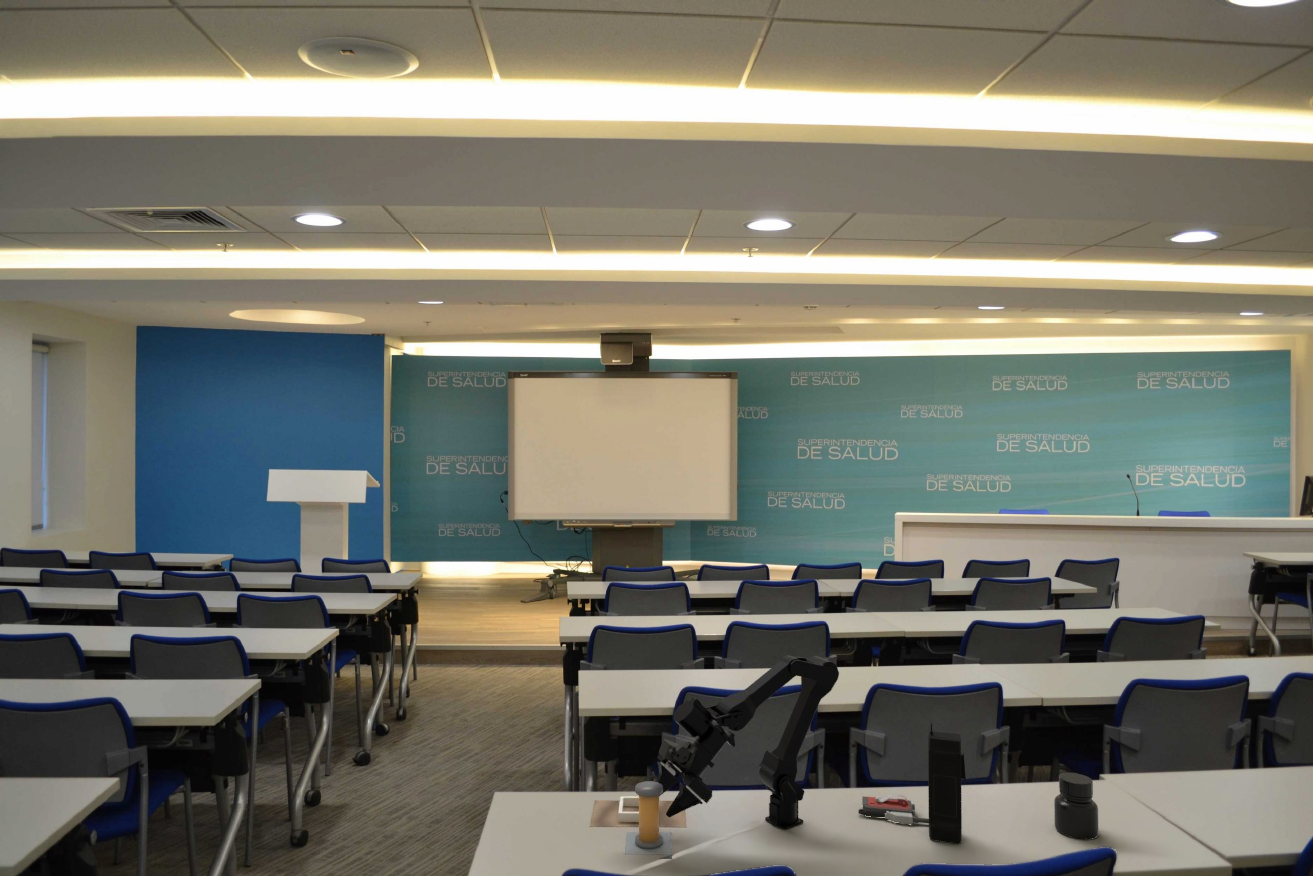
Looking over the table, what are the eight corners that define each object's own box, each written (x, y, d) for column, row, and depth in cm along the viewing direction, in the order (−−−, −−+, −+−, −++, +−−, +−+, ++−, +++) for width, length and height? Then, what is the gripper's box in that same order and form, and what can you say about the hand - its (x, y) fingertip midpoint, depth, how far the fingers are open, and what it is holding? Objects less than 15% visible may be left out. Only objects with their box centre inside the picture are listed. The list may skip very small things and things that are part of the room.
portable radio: (965, 833, 180) (964, 722, 181) (966, 845, 175) (965, 730, 175) (928, 828, 183) (928, 718, 184) (928, 840, 177) (928, 726, 178)
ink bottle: (1099, 827, 184) (1098, 775, 184) (1102, 844, 176) (1101, 789, 176) (1051, 819, 188) (1051, 768, 188) (1053, 835, 180) (1052, 781, 180)
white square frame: (658, 805, 193) (658, 796, 193) (658, 822, 183) (658, 813, 183) (620, 804, 193) (620, 796, 193) (618, 822, 183) (618, 813, 183)
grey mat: (671, 836, 178) (671, 832, 178) (671, 859, 168) (671, 854, 168) (626, 836, 178) (626, 832, 178) (624, 859, 168) (624, 854, 168)
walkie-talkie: (858, 822, 187) (948, 830, 183) (858, 803, 187) (948, 811, 183) (857, 806, 195) (943, 814, 191) (857, 788, 196) (943, 795, 191)
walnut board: (684, 805, 195) (684, 800, 195) (686, 831, 181) (686, 827, 181) (594, 804, 195) (594, 800, 195) (589, 831, 181) (589, 826, 181)
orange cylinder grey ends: (643, 834, 177) (643, 779, 178) (667, 840, 175) (667, 784, 175) (630, 845, 172) (630, 789, 173) (654, 851, 169) (654, 794, 170)
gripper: (664, 714, 186) (620, 769, 181) (698, 740, 168) (650, 802, 164) (695, 744, 188) (652, 799, 184) (732, 772, 171) (685, 834, 167)
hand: (659, 807), depth 175 cm, fingers open, 9 cm apart
